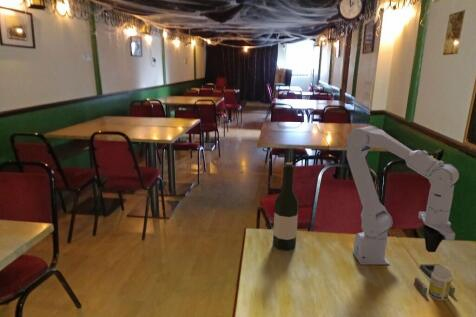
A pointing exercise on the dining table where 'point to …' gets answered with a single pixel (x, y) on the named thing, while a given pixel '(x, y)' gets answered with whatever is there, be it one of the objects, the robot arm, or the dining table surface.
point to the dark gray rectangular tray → (428, 268)
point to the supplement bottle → (440, 282)
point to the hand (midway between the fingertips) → (430, 250)
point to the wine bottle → (286, 213)
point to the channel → (423, 288)
